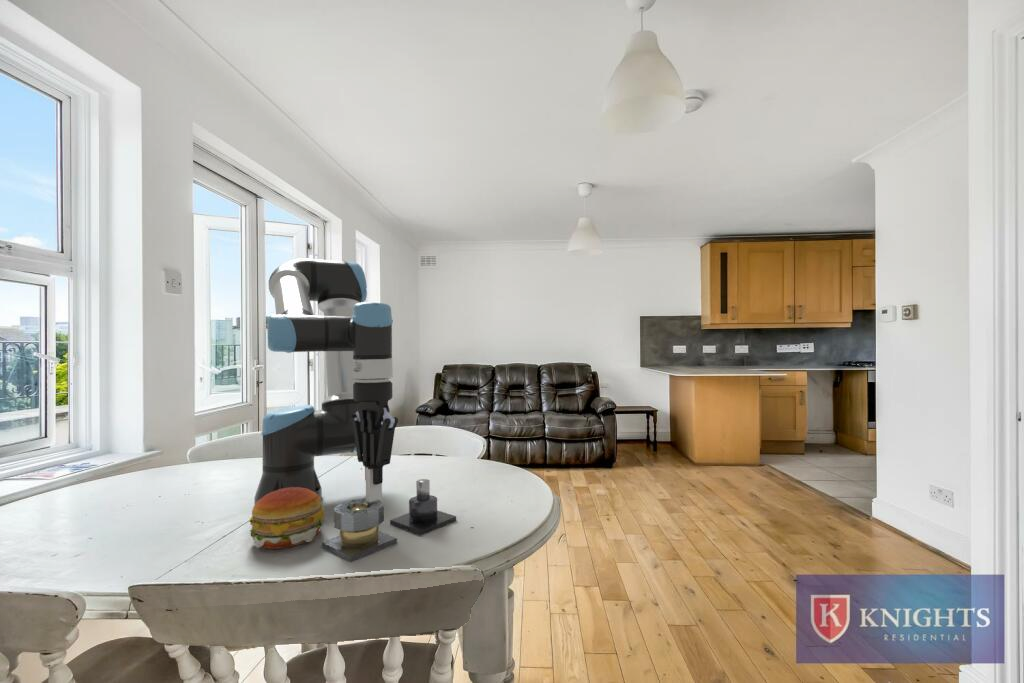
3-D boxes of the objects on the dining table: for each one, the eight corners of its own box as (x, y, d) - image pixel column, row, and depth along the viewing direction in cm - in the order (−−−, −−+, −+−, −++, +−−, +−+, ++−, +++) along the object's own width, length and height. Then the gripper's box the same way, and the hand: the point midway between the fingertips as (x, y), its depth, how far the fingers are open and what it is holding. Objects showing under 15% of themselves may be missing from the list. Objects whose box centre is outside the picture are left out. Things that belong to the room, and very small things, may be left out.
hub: (321, 547, 88) (321, 510, 88) (367, 530, 95) (366, 496, 96) (350, 562, 81) (350, 522, 82) (397, 543, 89) (396, 506, 89)
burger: (297, 522, 101) (297, 476, 101) (339, 534, 94) (338, 485, 94) (235, 545, 89) (235, 493, 90) (277, 561, 83) (276, 505, 83)
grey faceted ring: (334, 517, 91) (334, 502, 91) (381, 510, 94) (381, 496, 94) (334, 534, 83) (334, 517, 83) (385, 526, 86) (385, 510, 86)
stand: (390, 524, 99) (389, 482, 99) (425, 511, 107) (425, 472, 107) (420, 535, 92) (420, 491, 93) (456, 520, 100) (455, 479, 100)
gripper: (337, 380, 93) (338, 498, 92) (376, 383, 84) (377, 511, 84) (370, 378, 98) (371, 488, 98) (408, 380, 90) (410, 500, 90)
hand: (374, 499), depth 91 cm, fingers closed
